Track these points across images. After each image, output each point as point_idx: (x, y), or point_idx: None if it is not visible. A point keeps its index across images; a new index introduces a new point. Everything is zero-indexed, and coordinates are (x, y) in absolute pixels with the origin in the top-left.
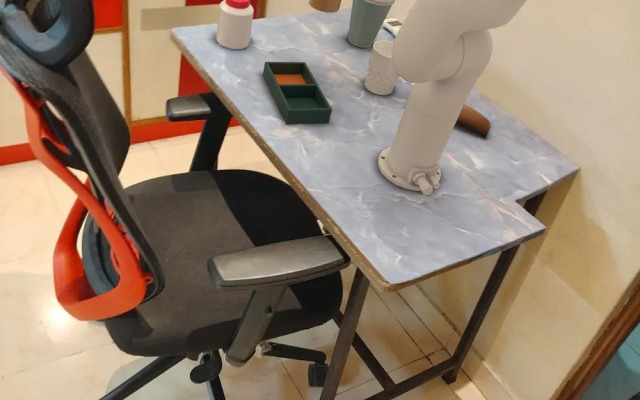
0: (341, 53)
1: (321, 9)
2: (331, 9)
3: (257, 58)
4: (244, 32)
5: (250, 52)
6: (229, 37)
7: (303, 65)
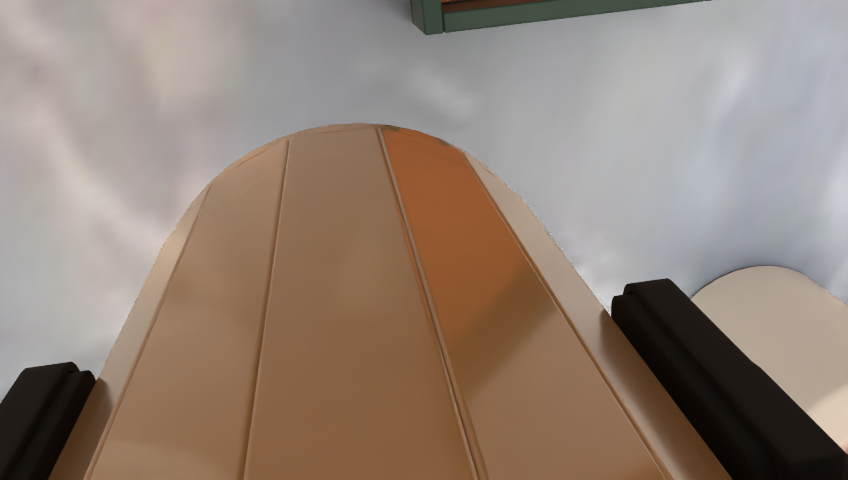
0: (84, 341)
1: (445, 145)
2: (306, 141)
3: (656, 189)
4: (773, 322)
5: (680, 248)
6: (835, 297)
7: (439, 4)
